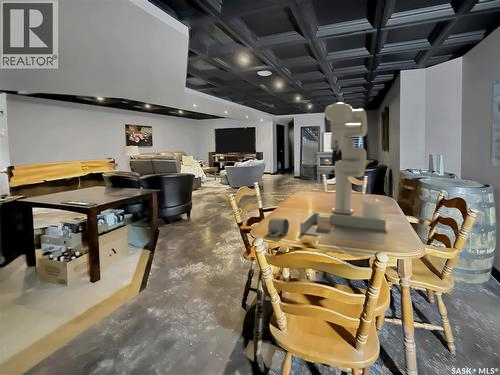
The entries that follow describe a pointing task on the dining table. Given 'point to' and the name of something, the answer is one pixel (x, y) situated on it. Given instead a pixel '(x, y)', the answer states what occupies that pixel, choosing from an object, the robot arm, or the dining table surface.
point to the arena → (347, 228)
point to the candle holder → (372, 208)
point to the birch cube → (324, 221)
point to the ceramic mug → (278, 227)
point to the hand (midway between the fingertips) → (336, 160)
